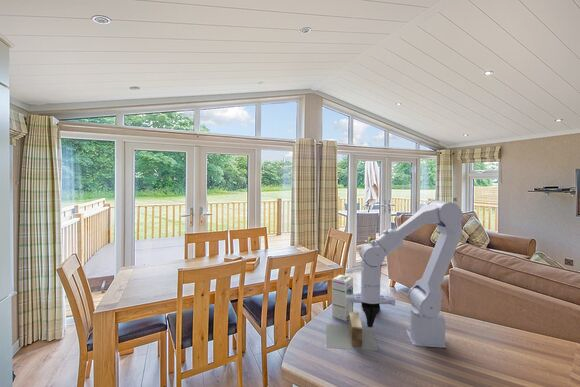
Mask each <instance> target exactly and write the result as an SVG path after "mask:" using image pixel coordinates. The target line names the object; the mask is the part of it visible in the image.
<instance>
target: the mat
mask: <svg viewBox="0 0 580 387" xmlns="http://www.w3.org/2000/svg"><path fill="white" fill-rule="evenodd" d="M325 326H326V327H325V332H326V335H325V337H326V338H325V339H326V348H327V349H329V348H330V349H341V350H342V349H343V350H359V351H372V352H373V351H375V352H379V349H378V345H377V342H376V339H375V336H374V332H373V329H372V327H368V326H362V347H359V346H352V344H351V338H350V333H349V325H339V324H326V325H325Z"/></svg>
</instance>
